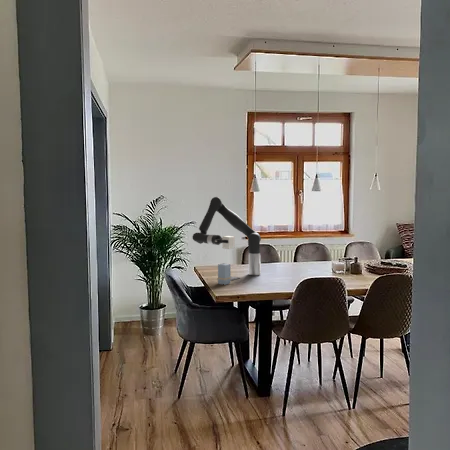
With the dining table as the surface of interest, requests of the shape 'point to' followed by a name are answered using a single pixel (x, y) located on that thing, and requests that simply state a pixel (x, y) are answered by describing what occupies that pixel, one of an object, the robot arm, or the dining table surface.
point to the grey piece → (224, 274)
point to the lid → (229, 242)
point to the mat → (234, 278)
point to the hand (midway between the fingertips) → (230, 241)
